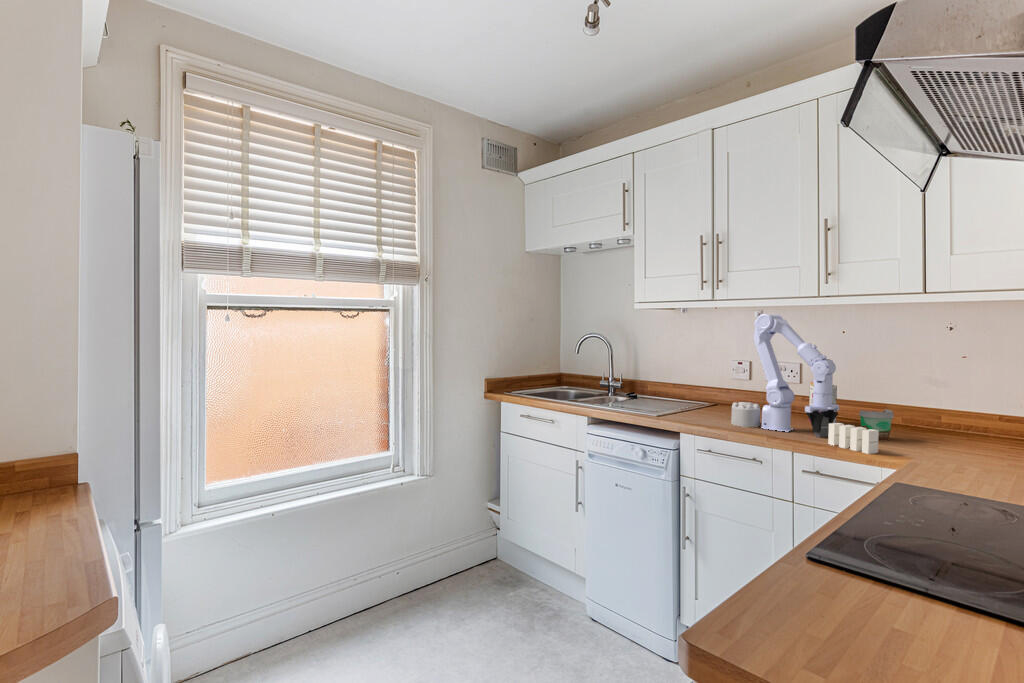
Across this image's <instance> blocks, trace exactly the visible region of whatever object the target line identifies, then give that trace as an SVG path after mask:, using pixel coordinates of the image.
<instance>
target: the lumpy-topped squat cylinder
mask: <svg viewBox="0 0 1024 683" xmlns="http://www.w3.org/2000/svg"><path fill="white" fill-rule="evenodd" d="M730 424H731V425H732V424H733V425H732V426H735V425H737V426H736V427H738V426H742V427H741V428H745V427H755V428H757V427H756V426H760V427H761V407H760V405H759V403H753V402H747V401H739V402H736V401H735V402H733V403H732V405H731V423H730Z"/></svg>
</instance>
